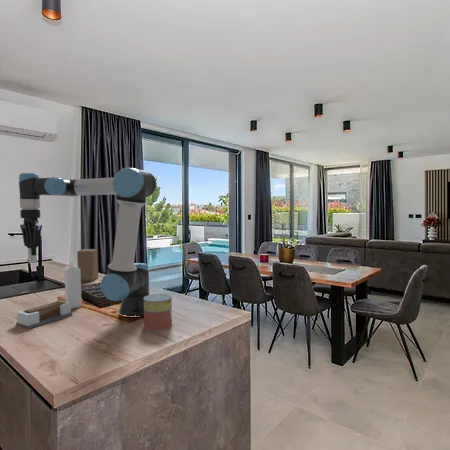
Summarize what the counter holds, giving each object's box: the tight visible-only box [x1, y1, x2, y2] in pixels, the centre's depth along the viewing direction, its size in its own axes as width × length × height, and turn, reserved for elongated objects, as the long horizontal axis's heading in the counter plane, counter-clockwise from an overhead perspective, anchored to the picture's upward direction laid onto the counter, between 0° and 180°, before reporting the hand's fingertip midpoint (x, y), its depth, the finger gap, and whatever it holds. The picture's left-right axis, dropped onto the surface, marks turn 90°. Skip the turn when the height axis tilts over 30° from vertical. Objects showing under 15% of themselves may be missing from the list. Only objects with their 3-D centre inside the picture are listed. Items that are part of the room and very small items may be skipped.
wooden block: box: [76, 248, 99, 282], centre depth 220 cm, size 10×10×20 cm
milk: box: [64, 261, 83, 310], centre depth 162 cm, size 6×6×22 cm
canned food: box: [143, 293, 173, 332], centre depth 135 cm, size 11×11×12 cm
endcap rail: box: [15, 300, 73, 330], centre depth 144 cm, size 10×19×6 cm, turn 150°
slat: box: [24, 300, 63, 321], centre depth 144 cm, size 4×15×5 cm, turn 150°
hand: (32, 262), depth 147 cm, fingers closed
